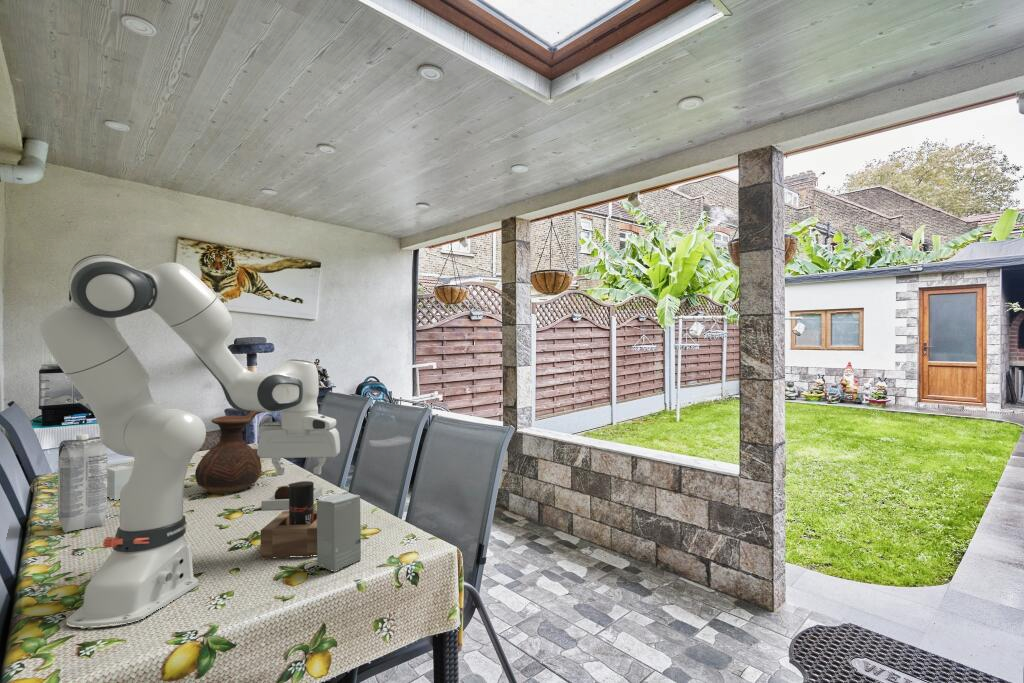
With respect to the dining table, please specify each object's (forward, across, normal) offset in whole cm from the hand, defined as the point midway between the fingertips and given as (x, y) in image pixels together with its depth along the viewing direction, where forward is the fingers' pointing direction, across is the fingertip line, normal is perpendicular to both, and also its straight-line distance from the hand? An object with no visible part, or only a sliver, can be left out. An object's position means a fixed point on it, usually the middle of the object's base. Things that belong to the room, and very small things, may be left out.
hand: (298, 474), depth 125 cm
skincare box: (+19, +14, -10) cm, 26 cm away
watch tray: (+18, -15, +39) cm, 46 cm away
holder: (+19, 0, +1) cm, 19 cm away
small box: (+19, -80, +52) cm, 98 cm away
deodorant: (+18, +1, +1) cm, 18 cm away
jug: (+18, -45, +58) cm, 76 cm away
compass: (+18, -17, +37) cm, 45 cm away
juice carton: (+19, -69, +22) cm, 75 cm away
